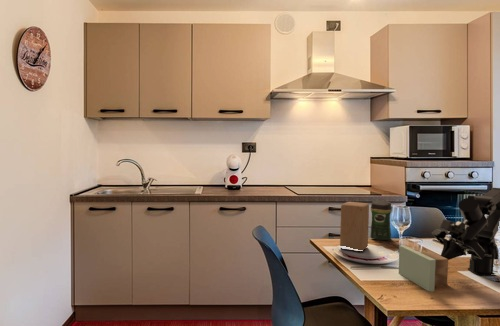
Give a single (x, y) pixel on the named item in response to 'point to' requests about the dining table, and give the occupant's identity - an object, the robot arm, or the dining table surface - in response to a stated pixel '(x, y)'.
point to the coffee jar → (380, 220)
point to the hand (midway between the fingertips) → (440, 260)
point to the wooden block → (354, 225)
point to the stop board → (417, 267)
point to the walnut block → (439, 268)
